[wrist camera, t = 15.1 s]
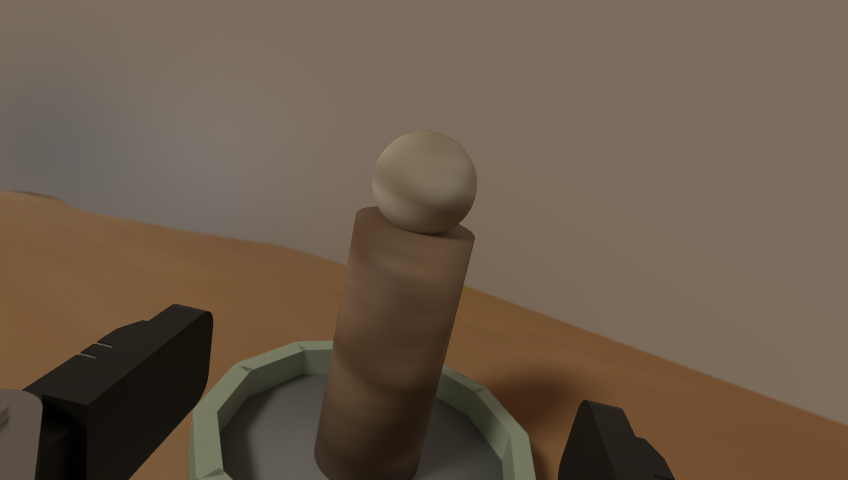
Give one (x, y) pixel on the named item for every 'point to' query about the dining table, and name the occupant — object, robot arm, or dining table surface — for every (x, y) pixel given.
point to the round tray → (300, 412)
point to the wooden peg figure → (397, 310)
